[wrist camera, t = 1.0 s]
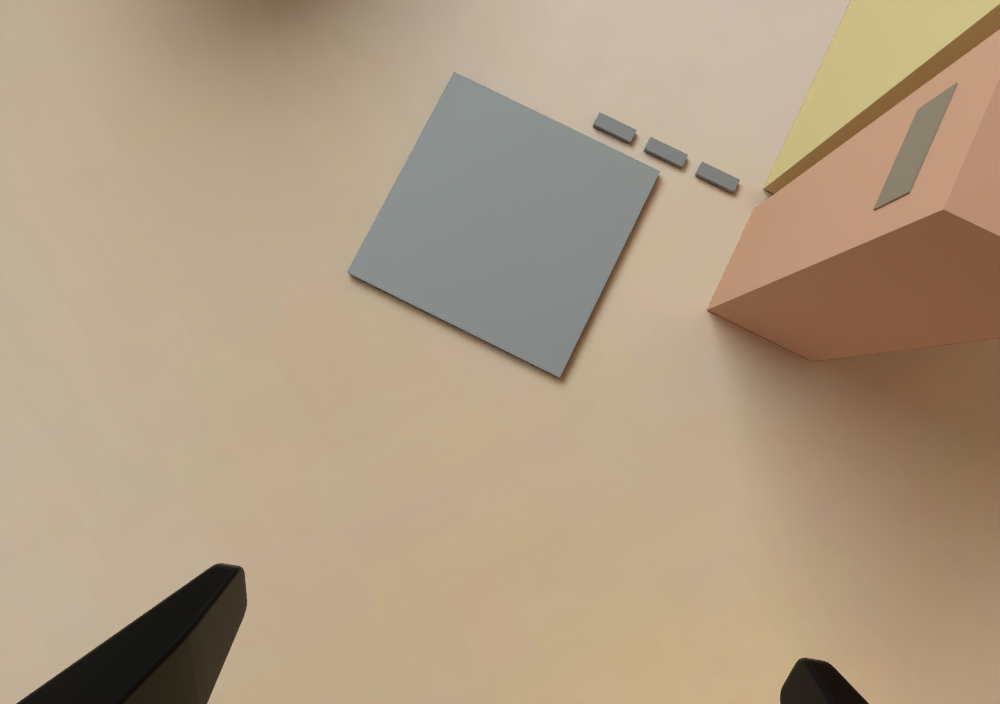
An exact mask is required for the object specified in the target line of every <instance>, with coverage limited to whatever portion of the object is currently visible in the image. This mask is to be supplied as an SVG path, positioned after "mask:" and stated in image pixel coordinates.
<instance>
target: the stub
mask: <svg viewBox="0 0 1000 704" xmlns="http://www.w3.org/2000/svg"><path fill="white" fill-rule="evenodd" d="M707 310H708V311H710V312H712V313H714V314H716V315H718V316H720V317H722V318H725V319H727V320H729V321H731V322H733V323H735V324H737V325H739V326H741V327H743V328H745V329H747V330H749V331H751V332H753V333H755V334H757V335H759V336H761V337H763V338H765V339H767V340H769V341H772V342H774V343H776V344H778V345H780V346H782V347H784V348H786V349H788V350H790V351H792V352H794V353H796V354H798V355H800V356H802V357H804V358H806V359H808V360H810V361H812V362H813V361H821V360H829V359H837V358H845V357H853V356H860V355H868V354H876V353H884V352H892V351H900V350H908V349H916V348H924V347H932V346H939V345H947V344H955V343H963V342H971V341H979V340H987V339H995V338H1000V29H999V30H998V31H997V32H995V33H994V34H992V35H991V36H990V37H988V38H987V39H986V40H984V41H983V42H982V43H980V44H979V45H977V46H976V47H975V48H973V49H972V50H971V51H969V52H968V53H967V54H965V55H964V56H962V57H961V58H960V59H958V60H957V61H956V62H954V63H953V64H951V65H950V66H949V67H947V68H946V69H945V70H943V71H942V72H941V73H939V74H938V75H936V76H935V77H934V78H932V79H931V80H930V81H928V82H927V83H926V84H924V85H923V86H921V87H920V88H919V89H917V90H916V91H915V92H913V93H912V94H910V95H909V96H908V97H906V98H905V99H904V100H902V101H901V102H900V103H898V104H897V105H895V106H894V107H893V108H891V109H890V110H889V111H887V112H886V113H885V114H883V115H882V116H880V117H879V118H878V119H876V120H875V121H874V122H872V123H871V124H869V125H868V126H867V127H865V128H864V129H863V130H861V131H860V132H859V133H857V134H856V135H854V136H853V137H852V138H850V139H849V140H848V141H846V142H845V143H844V144H842V145H841V146H839V147H838V148H837V149H835V150H834V151H833V152H831V153H830V154H828V155H827V156H826V157H824V158H823V159H822V160H820V161H819V162H818V163H816V164H815V165H813V166H812V167H811V168H809V169H808V170H807V171H805V172H804V173H803V174H801V175H800V176H798V177H797V178H796V179H794V180H793V181H792V182H790V183H789V184H787V185H786V186H785V187H783V188H782V189H781V190H779V191H778V192H777V193H775V194H774V195H772V196H771V197H770V198H768V199H767V200H766V201H764V202H763V203H762V204H760V205H759V206H757V207H756V208H755V209H754V210H753V212H752V214H751V216H750V218H749V221H748V223H747V225H746V227H745V229H744V231H743V234H742V236H741V238H740V240H739V242H738V244H737V246H736V249H735V251H734V253H733V255H732V257H731V259H730V261H729V264H728V266H727V268H726V270H725V272H724V274H723V277H722V279H721V281H720V283H719V285H718V287H717V289H716V292H715V294H714V296H713V298H712V300H711V302H710V305H709V307H708V309H707Z"/></svg>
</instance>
